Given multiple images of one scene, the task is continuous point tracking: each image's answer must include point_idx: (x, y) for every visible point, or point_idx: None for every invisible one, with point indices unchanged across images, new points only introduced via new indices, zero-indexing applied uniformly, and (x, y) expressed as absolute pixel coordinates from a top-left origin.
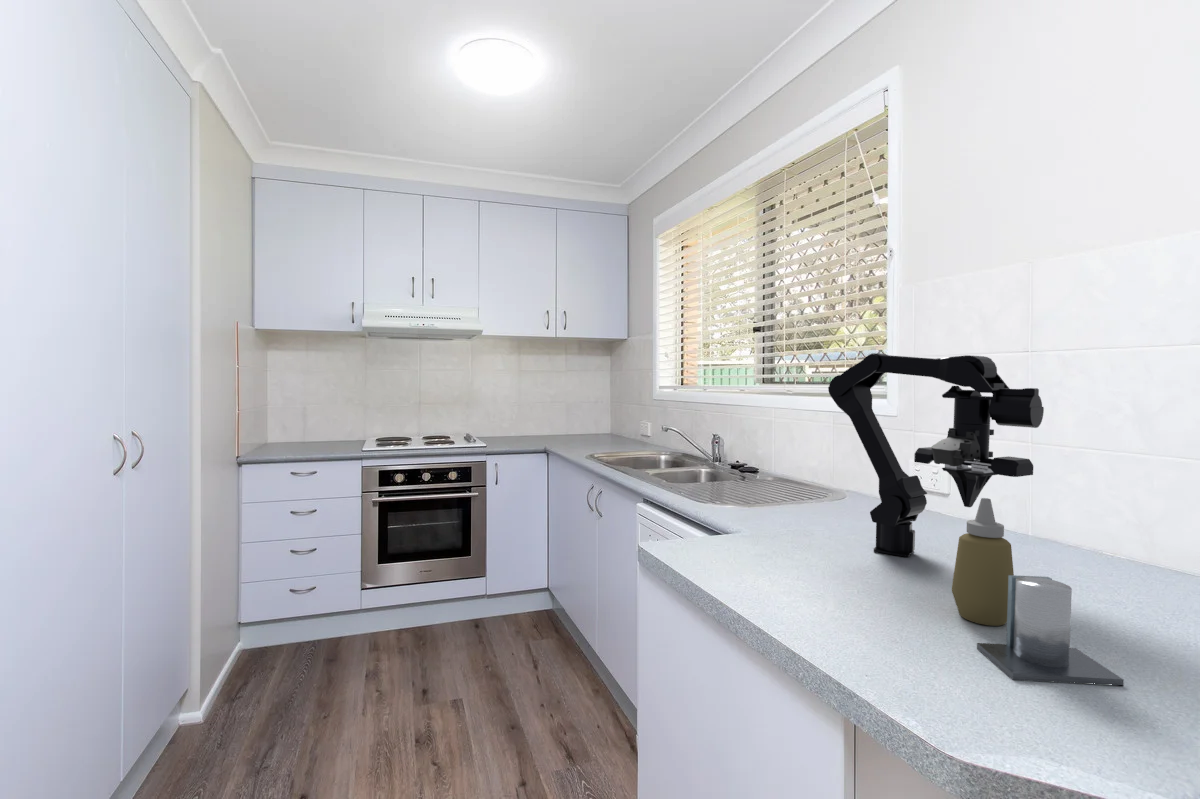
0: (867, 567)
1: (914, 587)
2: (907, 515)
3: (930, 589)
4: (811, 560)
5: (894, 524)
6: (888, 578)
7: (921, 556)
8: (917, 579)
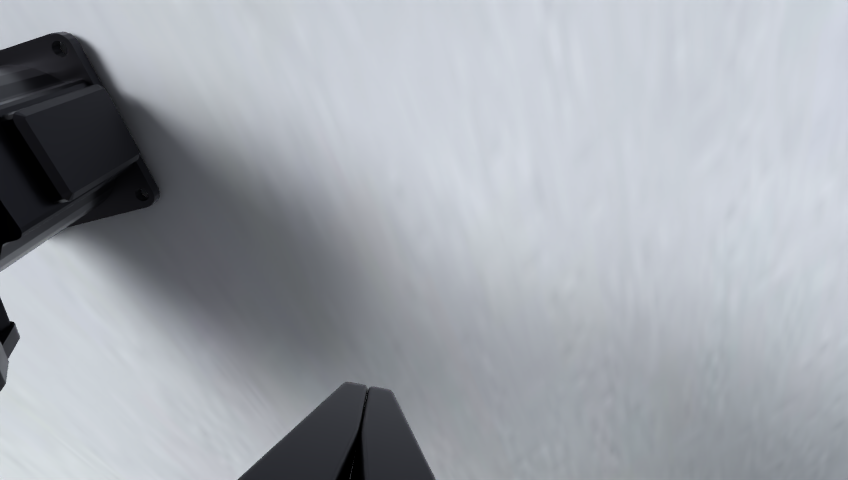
0: (180, 414)
1: None
2: (6, 360)
3: None
4: (44, 468)
5: (11, 345)
6: None
7: (172, 108)
8: None
